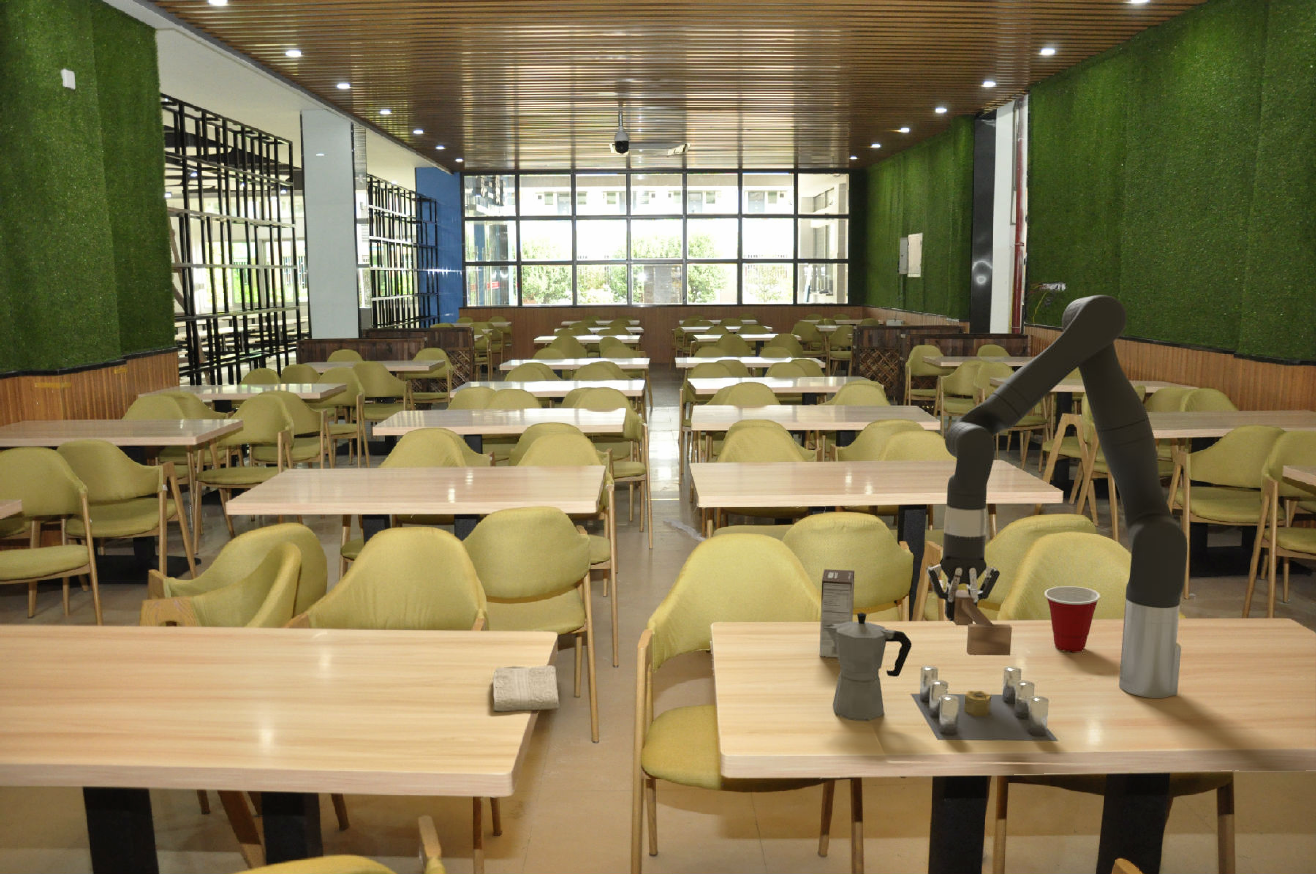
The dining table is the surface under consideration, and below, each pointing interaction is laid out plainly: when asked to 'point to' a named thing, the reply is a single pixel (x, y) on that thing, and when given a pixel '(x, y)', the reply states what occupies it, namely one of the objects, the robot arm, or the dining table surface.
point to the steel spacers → (1013, 693)
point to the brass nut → (977, 703)
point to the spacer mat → (985, 723)
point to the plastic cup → (1071, 615)
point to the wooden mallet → (981, 628)
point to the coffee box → (835, 605)
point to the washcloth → (525, 688)
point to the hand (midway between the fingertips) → (960, 619)
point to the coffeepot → (863, 666)
